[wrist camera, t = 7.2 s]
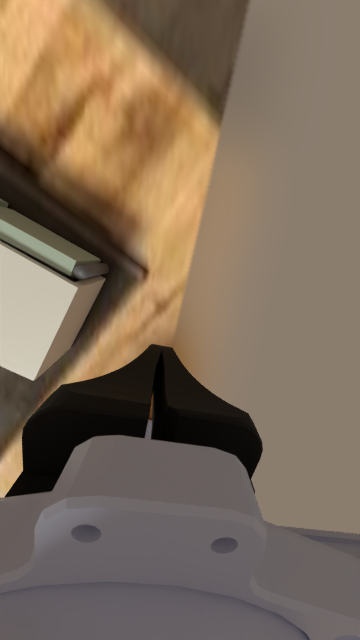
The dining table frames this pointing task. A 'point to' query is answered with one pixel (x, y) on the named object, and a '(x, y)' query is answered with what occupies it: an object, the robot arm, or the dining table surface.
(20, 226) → the door
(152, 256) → the dining table surface
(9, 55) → the dining table surface
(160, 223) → the dining table surface
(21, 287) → the cabinet
